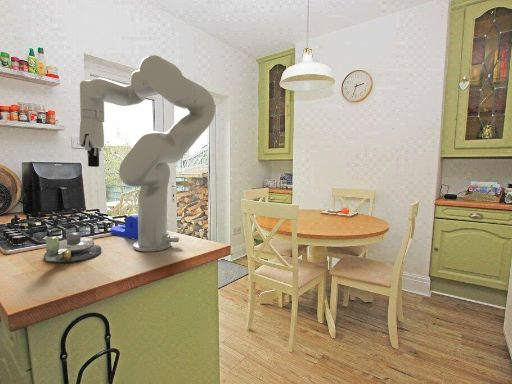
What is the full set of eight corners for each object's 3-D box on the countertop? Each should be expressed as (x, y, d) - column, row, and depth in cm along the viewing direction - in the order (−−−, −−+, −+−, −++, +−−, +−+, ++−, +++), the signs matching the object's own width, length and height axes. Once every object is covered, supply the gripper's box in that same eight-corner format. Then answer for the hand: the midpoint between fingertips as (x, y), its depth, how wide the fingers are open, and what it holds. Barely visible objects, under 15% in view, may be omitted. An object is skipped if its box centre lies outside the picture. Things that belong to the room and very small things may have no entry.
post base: (108, 246, 94) (108, 236, 93) (86, 264, 78) (86, 251, 78) (61, 246, 92) (61, 235, 91) (29, 264, 76) (28, 251, 75)
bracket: (154, 235, 110) (154, 213, 109) (138, 240, 103) (137, 217, 102) (123, 228, 118) (123, 208, 117) (106, 233, 110) (105, 211, 109)
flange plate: (64, 241, 90) (63, 223, 89) (100, 241, 91) (99, 223, 91) (27, 261, 72) (26, 239, 71) (72, 261, 74) (71, 239, 73)
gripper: (90, 119, 106) (92, 165, 108) (70, 112, 92) (72, 166, 94) (111, 120, 107) (111, 166, 109) (94, 114, 93) (95, 167, 95)
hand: (93, 166), depth 102 cm, fingers closed
